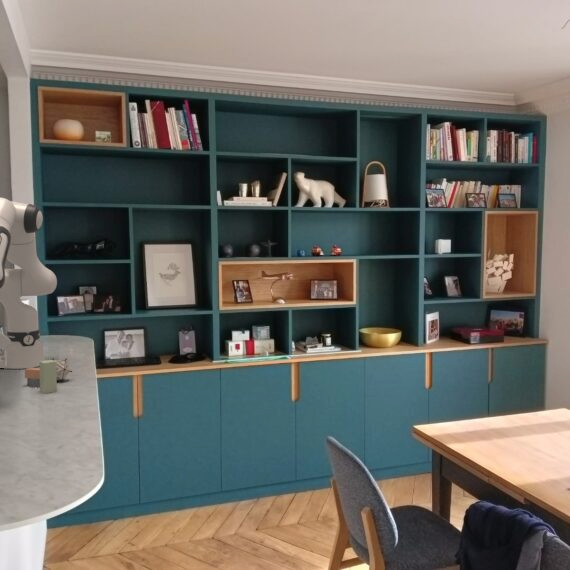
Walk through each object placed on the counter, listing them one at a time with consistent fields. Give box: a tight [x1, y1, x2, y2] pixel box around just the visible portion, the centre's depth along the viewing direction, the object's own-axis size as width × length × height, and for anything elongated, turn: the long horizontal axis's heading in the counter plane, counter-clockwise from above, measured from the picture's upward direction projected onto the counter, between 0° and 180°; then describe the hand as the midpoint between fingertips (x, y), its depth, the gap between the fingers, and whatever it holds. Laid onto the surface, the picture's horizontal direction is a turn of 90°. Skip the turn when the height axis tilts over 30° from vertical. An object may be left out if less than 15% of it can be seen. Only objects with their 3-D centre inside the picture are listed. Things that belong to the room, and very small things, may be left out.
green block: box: [38, 359, 58, 394], centre depth 190 cm, size 4×4×10 cm
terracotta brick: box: [24, 367, 40, 379], centre depth 198 cm, size 6×3×3 cm, turn 76°
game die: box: [51, 358, 73, 383], centre depth 205 cm, size 9×8×10 cm
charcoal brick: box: [26, 378, 40, 389], centre depth 198 cm, size 6×3×3 cm, turn 44°
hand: (9, 351), depth 182 cm, fingers open, 8 cm apart
